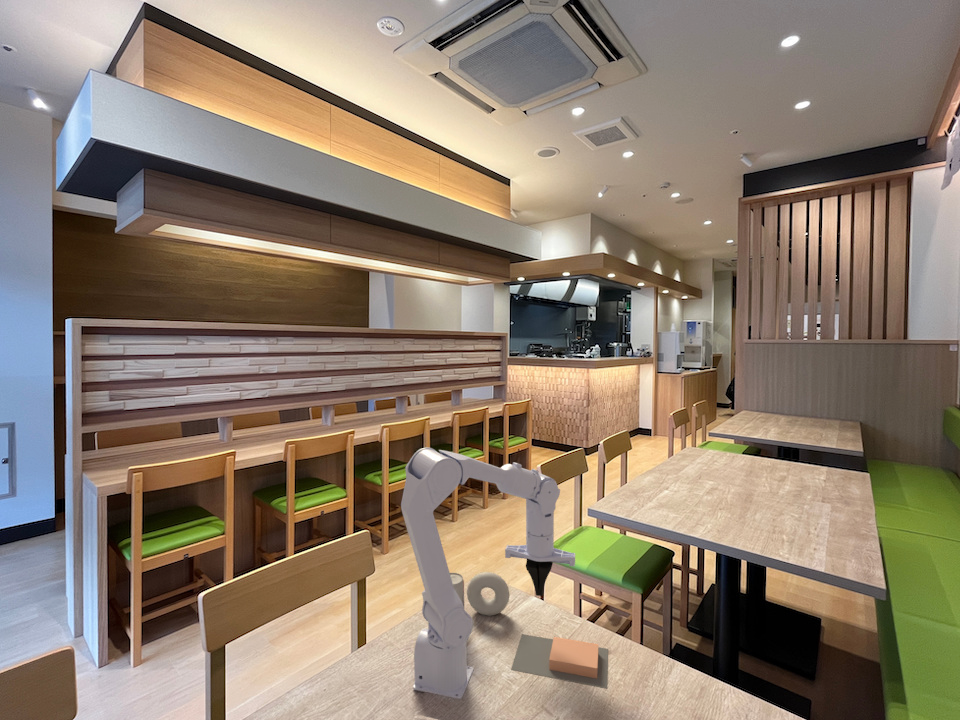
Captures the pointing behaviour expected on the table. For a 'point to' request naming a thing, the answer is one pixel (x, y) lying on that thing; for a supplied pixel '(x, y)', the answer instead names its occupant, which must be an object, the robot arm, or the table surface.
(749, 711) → the table surface
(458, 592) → the energy drink
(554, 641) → the tile
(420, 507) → the robot arm
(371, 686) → the table surface
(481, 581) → the donut
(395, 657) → the table surface
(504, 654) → the table surface
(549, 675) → the mat
